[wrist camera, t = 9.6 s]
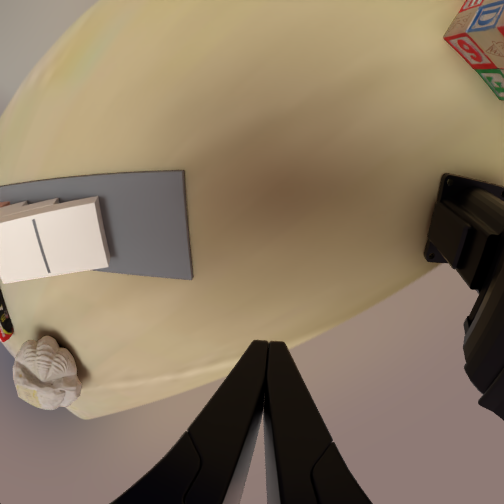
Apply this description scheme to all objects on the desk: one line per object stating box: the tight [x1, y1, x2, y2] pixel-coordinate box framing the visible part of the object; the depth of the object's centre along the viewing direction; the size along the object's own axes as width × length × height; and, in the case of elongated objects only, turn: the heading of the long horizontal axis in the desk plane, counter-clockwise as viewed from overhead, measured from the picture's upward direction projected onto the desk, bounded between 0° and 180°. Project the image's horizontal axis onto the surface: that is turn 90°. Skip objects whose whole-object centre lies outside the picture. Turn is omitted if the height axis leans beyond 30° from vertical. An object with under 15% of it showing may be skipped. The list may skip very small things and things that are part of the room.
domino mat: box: [0, 170, 193, 280], centre depth 20 cm, size 22×8×1 cm, turn 89°
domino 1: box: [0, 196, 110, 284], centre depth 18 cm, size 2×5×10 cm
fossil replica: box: [13, 336, 82, 410], centre depth 27 cm, size 12×8×10 cm
